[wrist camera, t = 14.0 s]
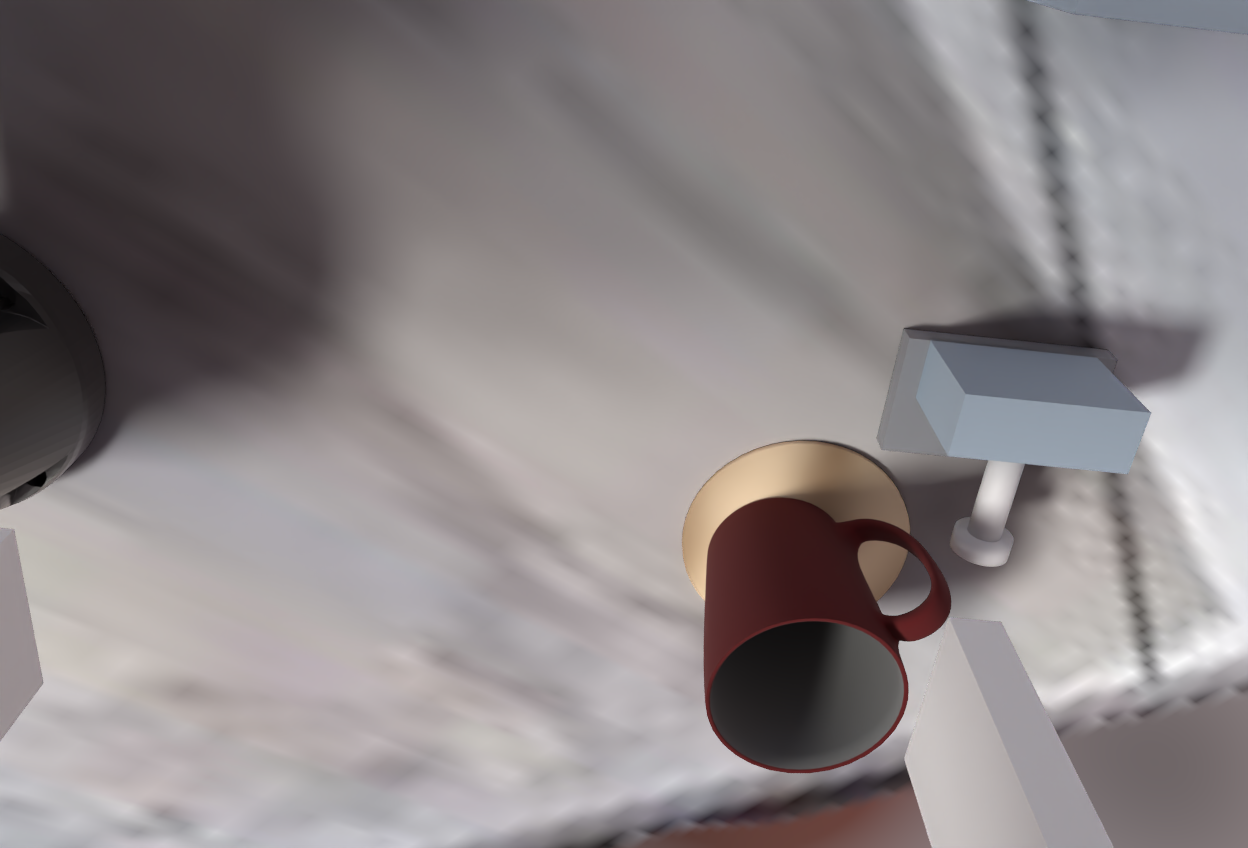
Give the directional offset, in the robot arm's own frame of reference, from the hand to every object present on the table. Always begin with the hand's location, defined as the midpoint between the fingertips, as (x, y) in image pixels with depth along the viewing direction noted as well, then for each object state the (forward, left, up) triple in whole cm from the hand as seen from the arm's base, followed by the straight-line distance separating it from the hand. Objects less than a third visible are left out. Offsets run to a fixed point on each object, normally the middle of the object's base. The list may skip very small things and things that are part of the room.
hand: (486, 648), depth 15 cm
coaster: (+13, -20, -35) cm, 42 cm away
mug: (+13, -20, -34) cm, 42 cm away
